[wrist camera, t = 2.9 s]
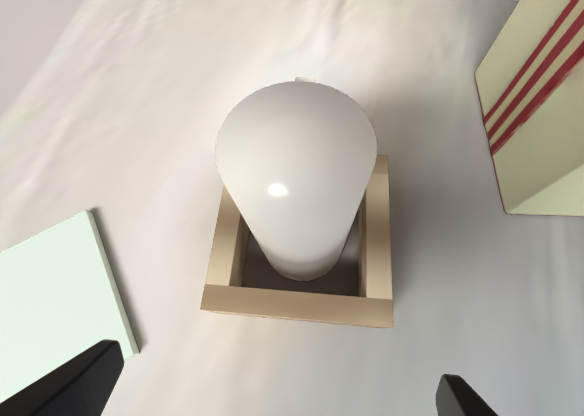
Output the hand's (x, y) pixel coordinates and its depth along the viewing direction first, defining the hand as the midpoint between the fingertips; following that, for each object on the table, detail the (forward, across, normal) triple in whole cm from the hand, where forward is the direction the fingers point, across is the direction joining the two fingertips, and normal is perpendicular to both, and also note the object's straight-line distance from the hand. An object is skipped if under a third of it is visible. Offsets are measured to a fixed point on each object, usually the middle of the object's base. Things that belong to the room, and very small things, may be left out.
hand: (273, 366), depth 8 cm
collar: (+14, 0, +4) cm, 15 cm away
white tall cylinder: (+15, 0, +3) cm, 16 cm away
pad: (+9, +19, +9) cm, 23 cm away
